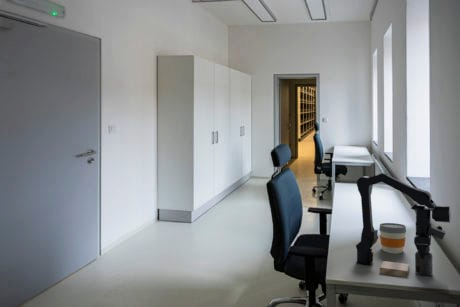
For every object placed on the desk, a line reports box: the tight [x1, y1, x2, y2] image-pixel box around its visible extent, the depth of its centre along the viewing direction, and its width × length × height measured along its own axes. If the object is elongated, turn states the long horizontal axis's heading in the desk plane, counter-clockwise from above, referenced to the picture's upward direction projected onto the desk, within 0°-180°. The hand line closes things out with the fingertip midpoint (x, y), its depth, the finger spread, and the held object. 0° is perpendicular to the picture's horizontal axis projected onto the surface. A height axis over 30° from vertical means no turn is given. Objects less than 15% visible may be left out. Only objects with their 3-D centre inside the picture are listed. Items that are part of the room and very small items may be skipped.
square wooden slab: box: [379, 260, 410, 278], centre depth 179 cm, size 11×11×3 cm
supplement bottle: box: [414, 246, 434, 277], centre depth 176 cm, size 7×7×12 cm
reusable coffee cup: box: [378, 222, 407, 255], centre depth 206 cm, size 13×13×15 cm
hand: (422, 256), depth 176 cm, fingers open, 9 cm apart
